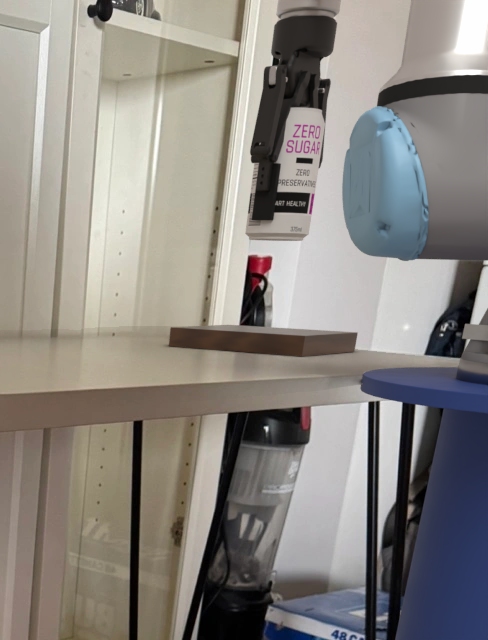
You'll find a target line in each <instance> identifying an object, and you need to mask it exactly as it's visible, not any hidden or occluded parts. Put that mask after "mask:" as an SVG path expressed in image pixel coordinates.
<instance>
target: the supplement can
mask: <svg viewBox="0 0 488 640" xmlns="http://www.w3.org/2000/svg"><path fill="white" fill-rule="evenodd" d="M324 129H325V130H326V123H325V122H324V119H323V116H322V110H320V109H315V108H299V107H293V108H291V109H290V113H289V115H288V118H287V120H286V127H285V134H284V142H283V145H282V148H281V151H280V154H279V157H278V160H277V161H276V162H274V163H280V164H281V167H280V175H279V182H278V189H277V197H276V204H275V211H274V219H273V220H252V213H253V205H254V198H255V190H256V182H257V174H258V166H259V163H253V170H252V171H253V172H252V179H251V186H250V195H249V201H248V210H247V218H246V225H245V235H246V236H247V237H248V240H250V241H267V242H268V241H271V242H272V241H273V242H274V241H276V242H279V241H280V242H288V241H289V242H300V241H301V242H302V241H303V240H304V239H305V238H306V237H307V236H308V235H309V234H310V226H311V222H312V221H311V220H312V216H313V215H312V214H313V207H314V202H315V195H316V189H317V181H318V175H319V169H320V168H319V162H320V155H321V149H322V142H323V135H324ZM324 136H325V135H324ZM260 144H261V143H260ZM260 144H259V145H260Z"/></svg>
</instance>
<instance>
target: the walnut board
mask: <svg viewBox="0 0 488 640" xmlns="http://www.w3.org/2000/svg"><path fill="white" fill-rule="evenodd" d="M358 333H359V332H358V331H357V332H356V331H355V332H354V331H341V330H339V331H338V330H326V329H325V330H323V329H307V328H290V327H273V326H255V325H241V324H239V325H238V324H213V325H192V326H189V325H188V326H171V327H170V330H169V338H168V347H175V348H188V349H199V350H200V349H201V350H212V351H213V350H214V351H225V352H226V351H227V352H239V353H251V354H265V355H276V356H277V355H278V356H290V357H311V356H312V357H313V356H321V355H322V356H323V355H332V354H333V355H334V354H343V353H344V354H345V353H354V352H355V350H356V344H357V339H358Z"/></svg>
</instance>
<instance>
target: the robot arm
mask: <svg viewBox="0 0 488 640" xmlns="http://www.w3.org/2000/svg"><path fill="white" fill-rule="evenodd" d="M341 4H342V0H277V5H276V16H277V18H278V19H279V20H278V21H276V22H275V24H274V26H273V34H272V41H271V43H272V44H271V49H270V54H271V56H272V57H273V58H275V59H277V60H279V61H278V64H277V65H269V66H265V67H264V69H263V78H262V79H263V80H262V81H263V82H262V90H261V95H260V101H259V104H258V105H259V106H258V110H257V115H256V120H255V124H254V130H253V135H252V140H251V143H250V149H249V154H250V162H251V164H254V163H259V166H258V174H257V182H256V190H255V198H254V205H253V213H252V220H273V219H274V211H275V204H276V197H277V189H278V182H279V175H280V167H281V164H280V163H274V162H276V161H277V160H278V157H279V154H280V151H281V148H282V145H283V142H284V134H285V127H286V120H287V118H288V115H289V113H290V109H291V108H293V107H299V108H315V109H320V110H322V116H323V119H324V122H325V124H326V121H327V108H328V100H329V95H330V89H331V84H332V81H331V79H330V78H321V61H322V60H323V59H324V58H328V57H329V56H331V55H332V53H334V47H335V42H336V41H335V40H336V34H337V28H338V21H337V20H336V18H335V17H336V16H337V15H339V14H340V10H341ZM407 18H408V19H407V26H406V31H405V38H404V46H403V52H402V59H401V65H400V67H399V68H398V70H397V71H396V72H395V73H394V75H392V76H391V77H390V78H389V79H388V80H387V81H386V82H385V83H384V84H383V85H382V86H380V89H379V92H378V94H377V95H378V96H377V103H376V106H373V107H372V108H371V109H369V110H366V111H365V112H364V113H363V114H361V115H360V116H359V117H358V119H357V120H356V122H355V124H354V125H353V128H352V130H351V133H350V136H349V146H348V147H349V148H348V149H346V152H345V156H344V160H343V161H344V163H343V171H342V173H343V174H342V184H341V185H342V186H341V188H342V189H341V190H342V192H341V193H342V195H341V196H342V197H341V198H342V210H343V217H344V222H345V226H346V229H347V231H348V235H349V238H350V240H351V241H352V244H353V245H354V246H355V247H356V249H358V250H359V251H360V252H361V253H362V254H364V255H367V256H370V257H375V258H376V257H377V258H391V259H398V260H400V261H402V262H409V261H415V260H441V261H443V260H444V261H445V260H446V261H447V260H448V261H488V0H410V5H409V11H408V17H407ZM325 135H326V128H325V129H324V135H323V142H322V149H321V155H320V162H319V169H321V167H322V163H323V159H324V148H325V147H324V146H325ZM260 143H261V144H260ZM259 144H260V145H259ZM461 336H462V337H461V339H462V340H469V341H468V343H467V344H466V346H465V349H464V350H463V352H462V354H461V357H460V358H459V360H458V365H457V368H458V370H457V374H456V378H457V379H458V380H461V381H466V382H471V383H477V384H484V385H488V307H487V308H486V310H485V312H484V314H483V316H482V318H481V320H480V321H479V323H478V324H477V323H476V324H475V323H465V324H464V328H463V332H462V335H461Z"/></svg>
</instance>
